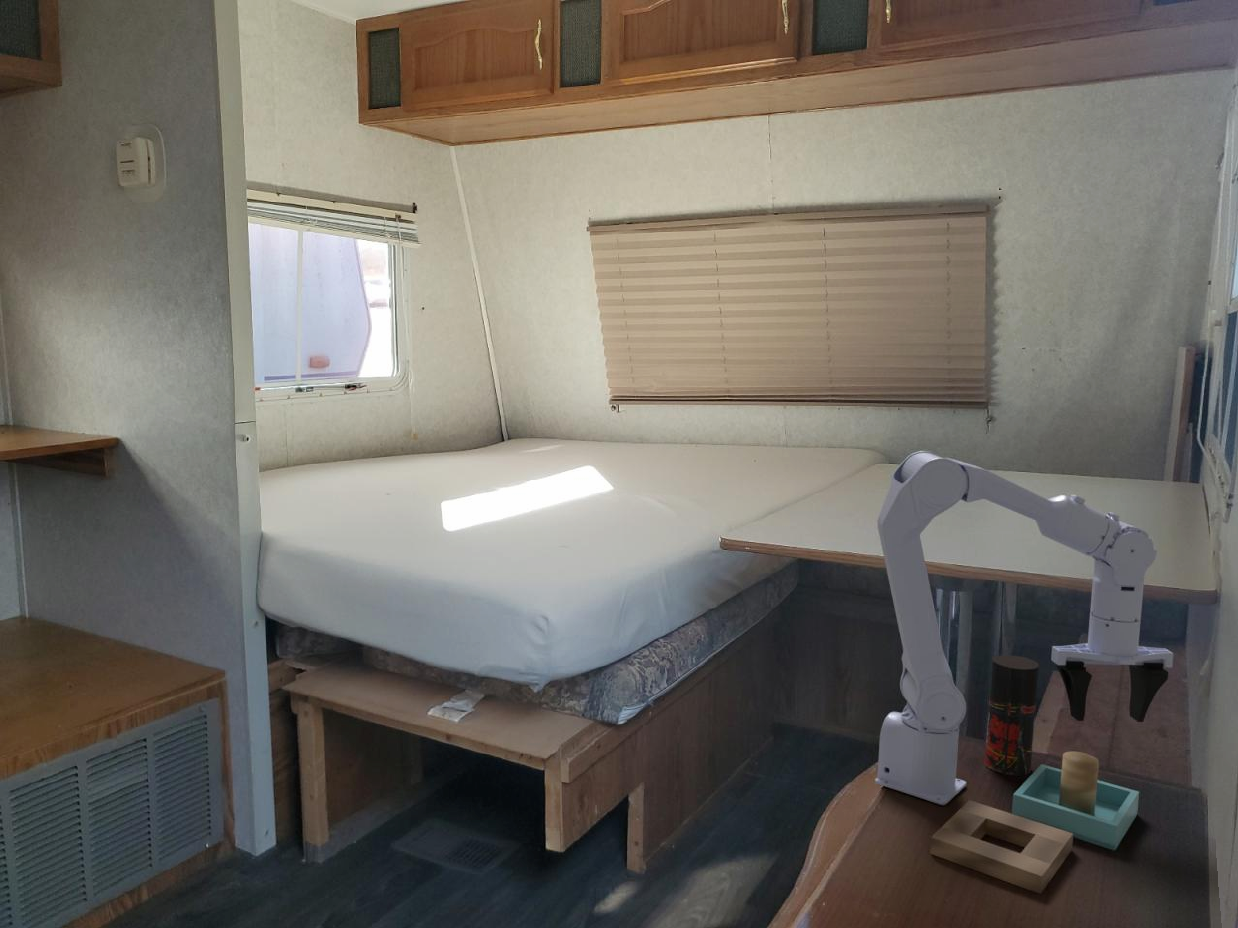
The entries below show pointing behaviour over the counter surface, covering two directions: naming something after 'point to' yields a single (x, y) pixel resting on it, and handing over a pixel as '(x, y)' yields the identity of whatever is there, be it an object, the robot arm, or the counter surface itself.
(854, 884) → the counter surface
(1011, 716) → the deodorant
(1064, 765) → the dowel
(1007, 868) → the socket block
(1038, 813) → the tray
